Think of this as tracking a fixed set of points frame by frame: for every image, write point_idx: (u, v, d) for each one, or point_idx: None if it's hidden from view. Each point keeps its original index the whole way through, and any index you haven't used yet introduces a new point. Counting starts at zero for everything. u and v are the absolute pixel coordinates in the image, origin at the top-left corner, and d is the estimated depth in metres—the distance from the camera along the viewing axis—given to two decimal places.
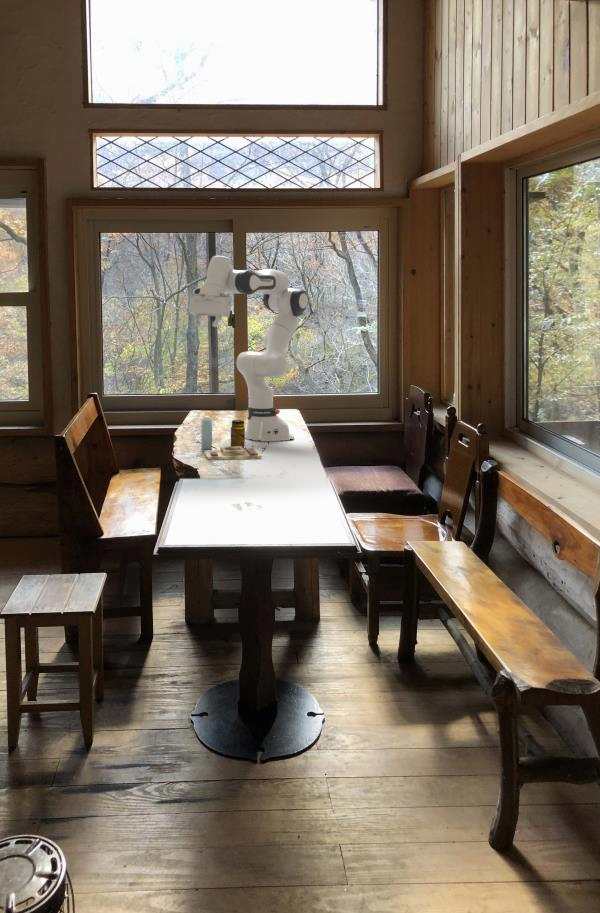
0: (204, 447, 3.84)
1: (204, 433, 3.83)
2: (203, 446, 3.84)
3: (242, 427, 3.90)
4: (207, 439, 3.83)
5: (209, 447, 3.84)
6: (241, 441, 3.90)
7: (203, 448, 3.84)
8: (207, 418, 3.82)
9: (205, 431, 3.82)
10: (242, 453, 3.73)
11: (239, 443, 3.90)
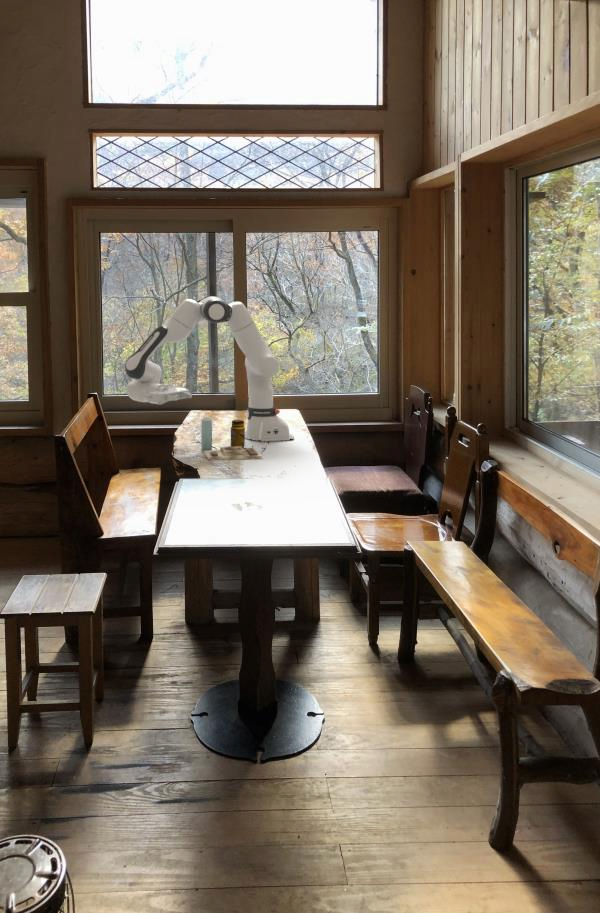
0: (204, 447, 3.84)
1: (204, 433, 3.83)
2: (203, 446, 3.84)
3: (242, 427, 3.90)
4: (207, 439, 3.83)
5: (209, 447, 3.84)
6: (241, 441, 3.90)
7: (203, 448, 3.84)
8: (207, 418, 3.82)
9: (205, 431, 3.82)
10: (242, 453, 3.73)
11: (239, 443, 3.90)
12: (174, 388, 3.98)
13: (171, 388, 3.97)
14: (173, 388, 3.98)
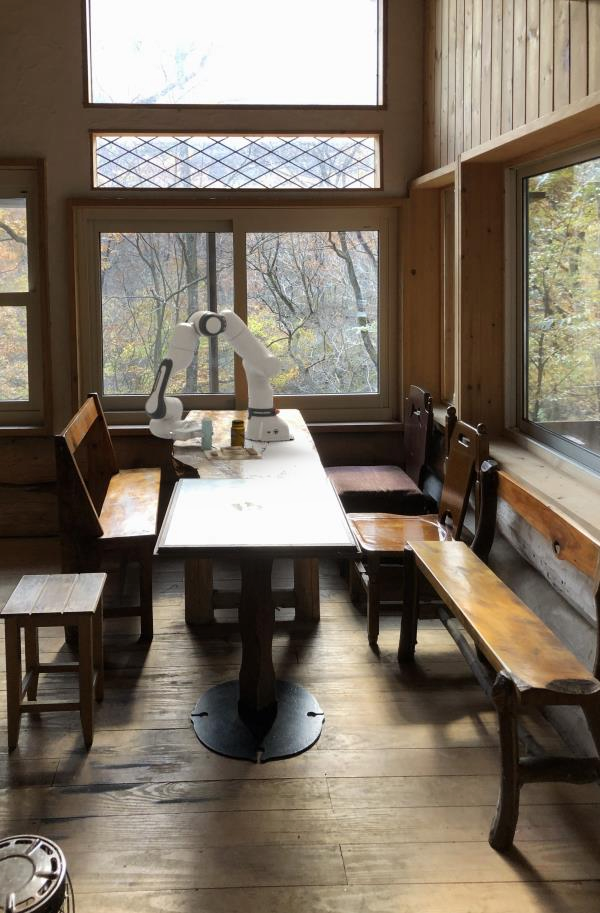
0: (204, 447, 3.84)
1: None
2: (203, 446, 3.84)
3: (242, 427, 3.90)
4: (207, 439, 3.83)
5: (209, 447, 3.84)
6: (241, 441, 3.90)
7: (203, 448, 3.84)
8: (207, 418, 3.82)
9: (205, 431, 3.82)
10: (242, 453, 3.73)
11: (239, 443, 3.90)
12: (198, 424, 3.95)
13: (195, 424, 3.93)
14: (197, 424, 3.94)
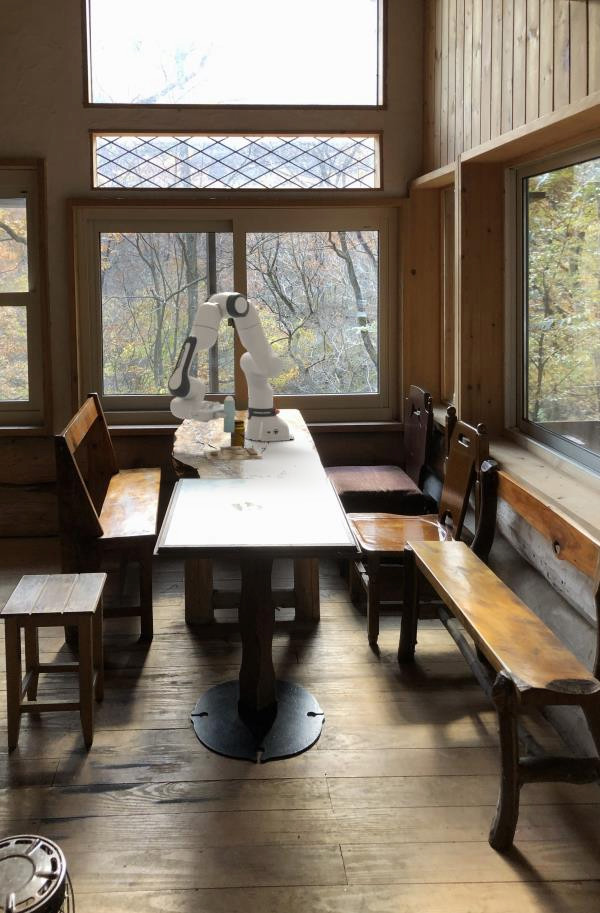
0: (226, 428, 3.73)
1: None
2: (225, 427, 3.74)
3: (242, 427, 3.90)
4: (229, 420, 3.73)
5: (231, 428, 3.74)
6: (241, 441, 3.90)
7: (225, 429, 3.74)
8: (230, 398, 3.72)
9: (228, 411, 3.72)
10: (242, 453, 3.73)
11: (239, 443, 3.90)
12: (220, 405, 3.84)
13: (217, 405, 3.83)
14: (219, 405, 3.84)
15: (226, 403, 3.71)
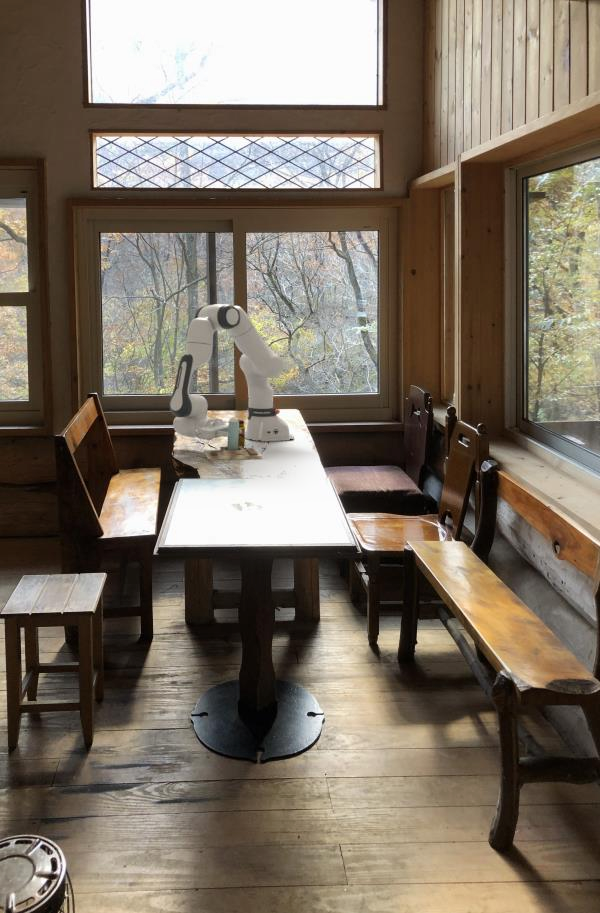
0: (230, 449, 3.74)
1: (230, 435, 3.73)
2: (229, 448, 3.74)
3: (242, 427, 3.90)
4: (233, 441, 3.73)
5: (235, 449, 3.74)
6: (241, 441, 3.90)
7: None
8: (234, 419, 3.73)
9: (232, 432, 3.73)
10: (242, 453, 3.73)
11: (239, 443, 3.90)
12: (223, 423, 3.85)
13: (220, 423, 3.83)
14: (222, 423, 3.84)
15: (230, 424, 3.72)
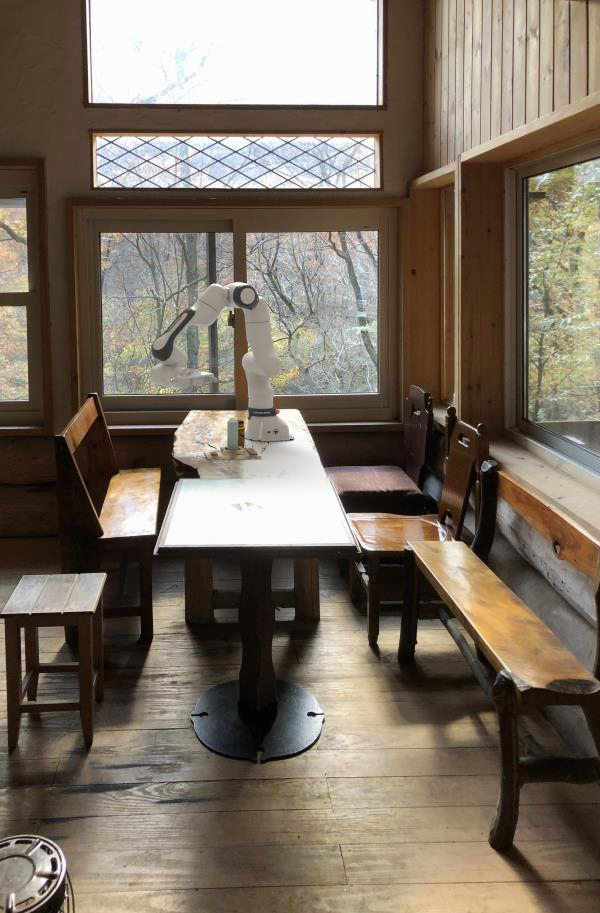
0: None
1: (229, 435, 3.73)
2: (229, 448, 3.74)
3: (242, 427, 3.90)
4: (233, 441, 3.73)
5: (235, 449, 3.74)
6: (241, 441, 3.90)
7: None
8: (233, 420, 3.72)
9: (231, 433, 3.73)
10: (242, 453, 3.73)
11: (239, 443, 3.90)
12: (199, 372, 3.87)
13: (196, 372, 3.86)
14: (198, 372, 3.87)
15: (229, 425, 3.72)
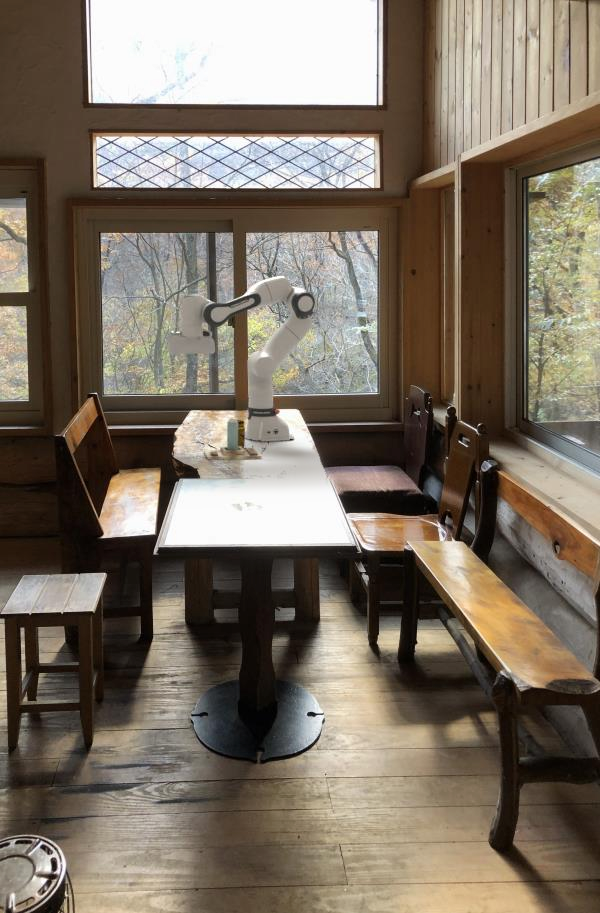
0: None
1: (229, 435, 3.73)
2: (229, 448, 3.74)
3: (242, 427, 3.90)
4: (233, 441, 3.73)
5: (235, 449, 3.74)
6: (241, 441, 3.90)
7: None
8: (233, 420, 3.72)
9: (231, 433, 3.73)
10: (242, 453, 3.73)
11: (239, 443, 3.90)
12: (207, 340, 3.95)
13: (203, 339, 3.95)
14: (206, 340, 3.95)
15: (229, 425, 3.72)
